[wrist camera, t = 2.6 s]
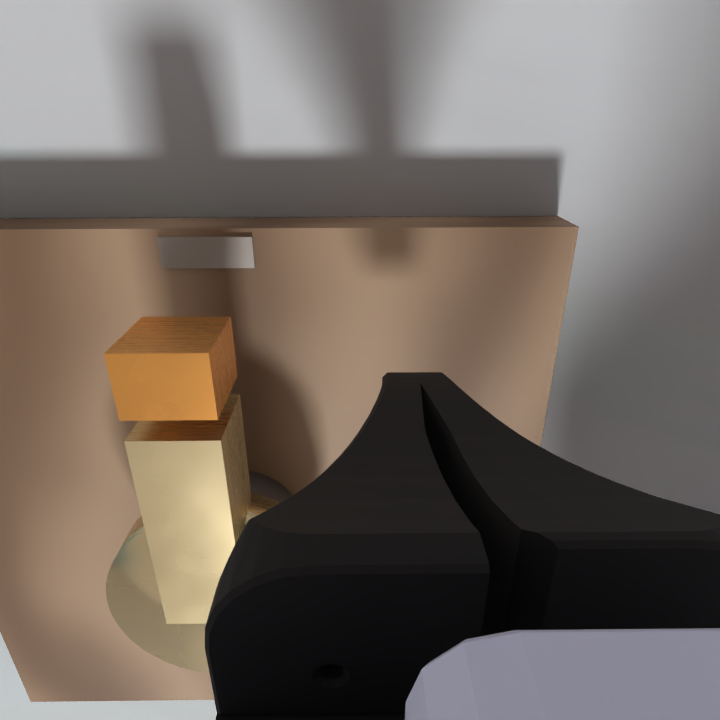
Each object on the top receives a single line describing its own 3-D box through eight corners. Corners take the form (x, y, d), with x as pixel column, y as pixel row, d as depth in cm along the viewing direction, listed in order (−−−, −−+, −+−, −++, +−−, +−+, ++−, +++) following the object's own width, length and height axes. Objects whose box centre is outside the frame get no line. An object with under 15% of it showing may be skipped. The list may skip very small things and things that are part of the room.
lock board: (558, 216, 15) (613, 244, 12) (488, 661, 23) (510, 750, 20) (-125, 219, 15) (-259, 248, 11) (50, 666, 23) (1, 756, 20)
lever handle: (332, 637, 17) (329, 708, 15) (143, 639, 17) (115, 710, 15) (319, 312, 12) (313, 352, 10) (57, 314, 12) (-2, 354, 10)
